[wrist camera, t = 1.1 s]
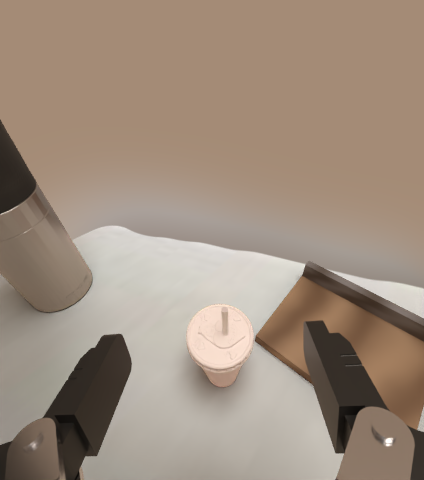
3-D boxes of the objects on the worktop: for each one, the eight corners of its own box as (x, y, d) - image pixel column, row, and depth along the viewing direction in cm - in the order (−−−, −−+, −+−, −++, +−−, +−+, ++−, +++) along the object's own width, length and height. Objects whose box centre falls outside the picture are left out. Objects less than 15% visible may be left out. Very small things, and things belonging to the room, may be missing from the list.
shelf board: (255, 341, 33) (257, 326, 30) (304, 276, 40) (309, 259, 37) (403, 453, 25) (425, 446, 22) (434, 346, 31) (453, 331, 29)
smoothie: (247, 405, 28) (255, 353, 18) (189, 395, 29) (168, 340, 19) (250, 347, 32) (259, 281, 23) (201, 340, 34) (189, 273, 24)
